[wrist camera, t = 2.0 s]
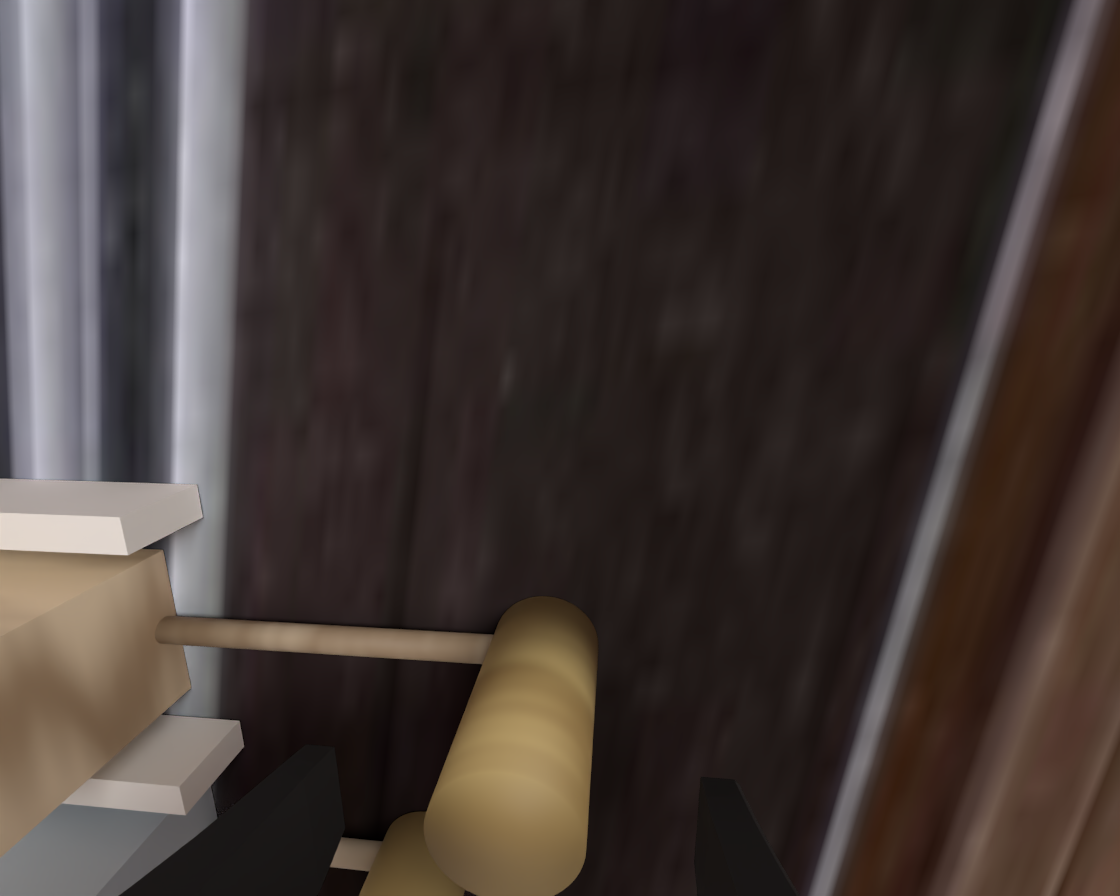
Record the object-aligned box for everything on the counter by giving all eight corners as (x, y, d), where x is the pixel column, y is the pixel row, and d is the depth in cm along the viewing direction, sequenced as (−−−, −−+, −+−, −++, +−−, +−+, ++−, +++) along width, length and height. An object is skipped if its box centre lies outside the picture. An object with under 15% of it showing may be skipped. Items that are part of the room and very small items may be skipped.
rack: (277, 928, 20) (194, 1079, 16) (30, 900, 21) (-104, 1035, 17) (196, 484, 16) (58, 543, 12) (-108, 475, 17) (-329, 526, 13)
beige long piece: (597, 717, 16) (585, 946, 10) (51, 677, 18) (-219, 853, 12) (599, 569, 15) (587, 736, 9) (13, 543, 17) (-307, 667, 11)
